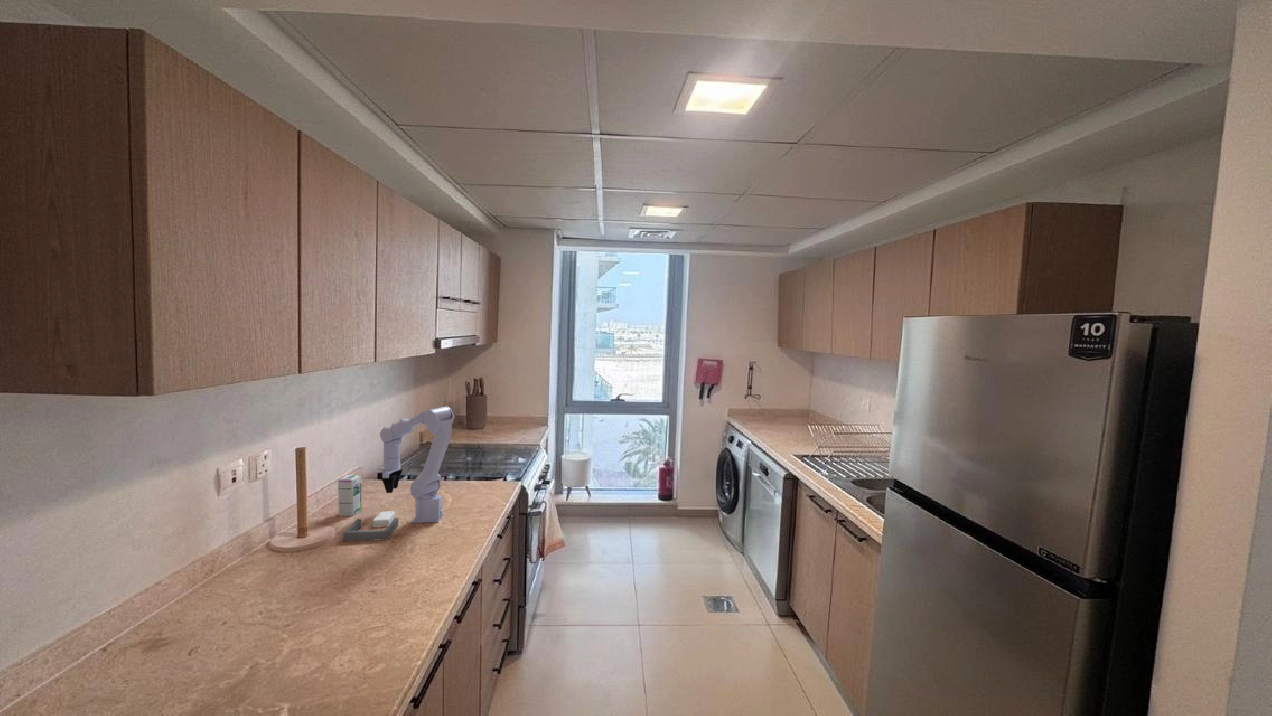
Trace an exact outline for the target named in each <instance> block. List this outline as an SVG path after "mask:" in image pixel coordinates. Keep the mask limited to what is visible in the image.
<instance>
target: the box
mask: <svg viewBox="0 0 1272 716" xmlns="http://www.w3.org/2000/svg"><path fill="white" fill-rule="evenodd" d="M397 526H398V527H399V517H395V518H394V519H393V521H392V522H391V523H390V524H389V526H388V527H385V529H378V530H377V529H375V530H373V529H372V530H371V529H370V530H360V529H361V528H360V527H362V519H360V518H357V519H356V520H355V521H354V522H353V523H352V524H351V525H350V526H349V527H347V528H346V529H345V531H344V532H343V533H342V534H343V536H342V537H343V538H342V539H343V542H352V541H351V540H366V541H375V540H374V539H387V540H389V538H390V537H391V536H392V534H393V533H394V532H395V531H396V529H397V528H398V527H397ZM359 528H360V529H359ZM358 529H359V530H358ZM357 530H358V531H357ZM394 530H395V531H394ZM393 531H394V532H393ZM390 535H391V536H390ZM389 536H390V537H389ZM349 540H350V541H349Z"/></svg>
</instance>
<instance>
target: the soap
mask: <svg viewBox="0 0 1272 716" xmlns="http://www.w3.org/2000/svg"><path fill="white" fill-rule="evenodd" d="M395 514H396V513H395V511H394V510H390V511H389V510H388V511H379V513H378V514H377V515H376V516H375V517H374V518H373V520H372V527H373V528H378V527H377V526H388V525H389V524H390V523H391V522H392V520H394V519H395V518H396V515H395Z"/></svg>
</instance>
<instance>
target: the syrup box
mask: <svg viewBox="0 0 1272 716" xmlns="http://www.w3.org/2000/svg"><path fill="white" fill-rule="evenodd" d="M337 493H338V495H337V497H338V501H337V502H338V516H339V517H340V516H344V517H353V516H355V515H356V514H359V512H362V507H363V506H362V476H361V475H360V474H347V475H344V476H342V477H341V478H339V479H337Z"/></svg>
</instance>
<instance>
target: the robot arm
mask: <svg viewBox="0 0 1272 716" xmlns="http://www.w3.org/2000/svg"><path fill="white" fill-rule="evenodd" d="M454 420H455V413H454V412H453V410H452V408H451V407H449V406H448V405H447V406H446V405H445V406H442V407H436V408H432V409H431V408H430V409H426V410H422V411H421V412H419V413H418V414H417V415H414V416H413V417H411V418H410V419H409V418H405V417H404V418H400V419H399V421H398V422H394V423H392V424H391V426H387V427H386V426H385V427H383V428H382V429H380V432H379V438H380V440H381V441H382V442H383V466H381V467H380V468H379V469H380V471H382V474H381V475H380V480H381V481H382V483H383V486H384V489H385V493H386V494H392V493H393V492H394V489H398V485H399V481H400V478H401V475H402V473H403V471H404V470H403V469H402V468H401V461H400V460H401V448H400V447H401V443H402V439H403V437H405V436H406V435H408V434H410V433H412V432H413V431H414V430H415V428H416V427H418V426H419V425H421V424H424V425H425V427H426V428H427V429H428V431H429V432H430V433H431V434H432V435H434V438H433V440H432V443H431V447H430V448H429V449H430V450H429V452H428V455H427V458H426V460H425V464H424V466H423V470H422V471H421V473H419V474H418V475H417V476H416V477H415V479H414V482H412V483H411V485H410V488H409V489H410V494H411V496H412V497H413V499H415V501H414V507H415V510H414V511H415V512H414V514H415V516H414V518H413V519H412V520H411V523H412V524H415V523H416V524H417V523H438V522H439V521H440V519H441V518H442V516H443V515H444V513H443V502H444V501H443V496H442V495H438V491H439V490H440V489H441V486H442V485H441V480H442V476H441V474H439V471H440V469H441V466H442V464H443V461H444V458H445V454H446V452H447V449H448V447H449V443H450V440H451V437H452V436H453V435H452V434H453V423H454Z"/></svg>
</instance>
